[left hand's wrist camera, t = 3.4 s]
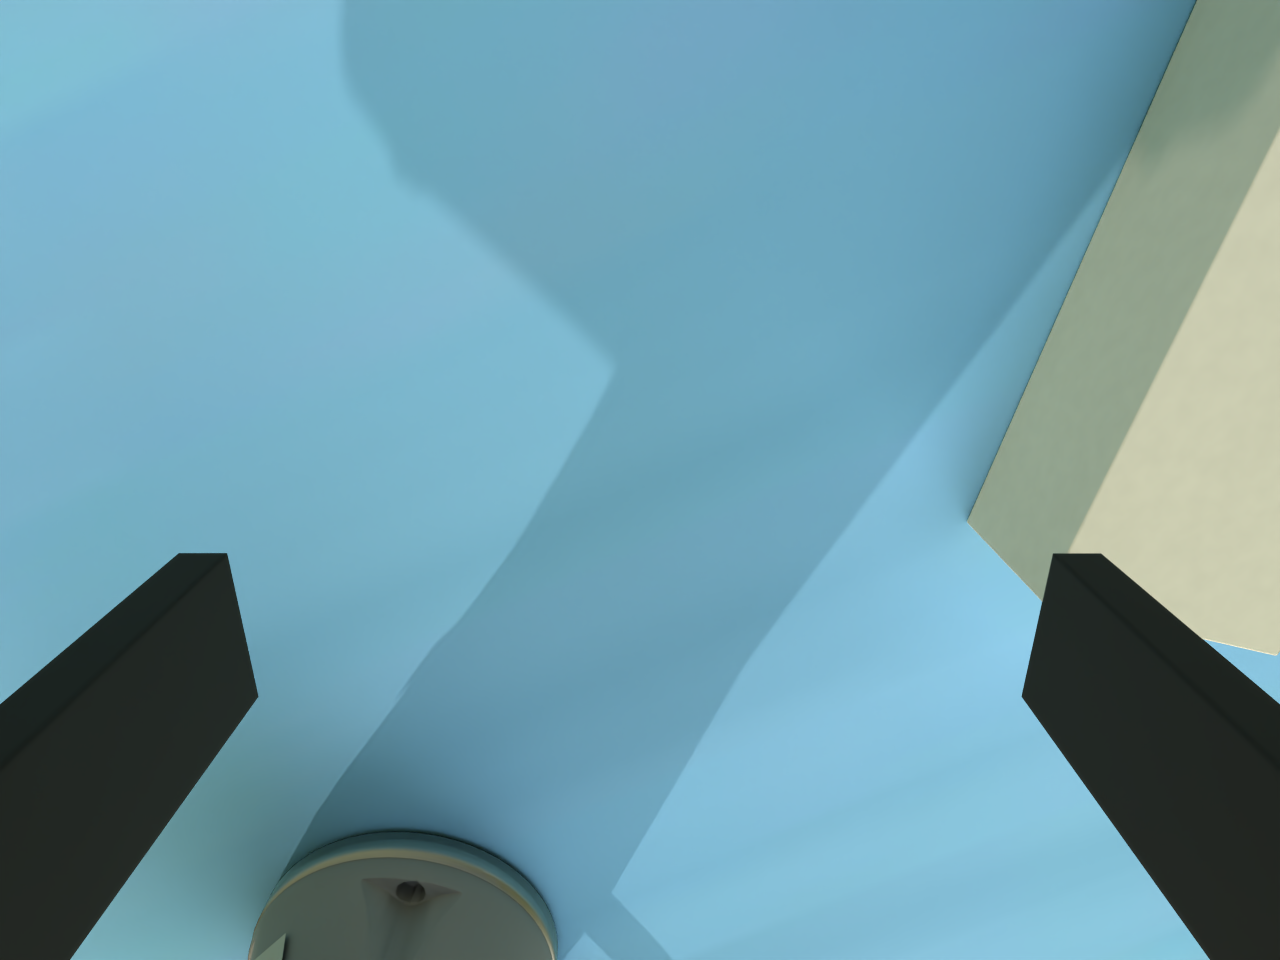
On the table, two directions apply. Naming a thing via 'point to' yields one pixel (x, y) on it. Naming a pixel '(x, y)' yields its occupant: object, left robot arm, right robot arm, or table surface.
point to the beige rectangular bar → (1169, 357)
